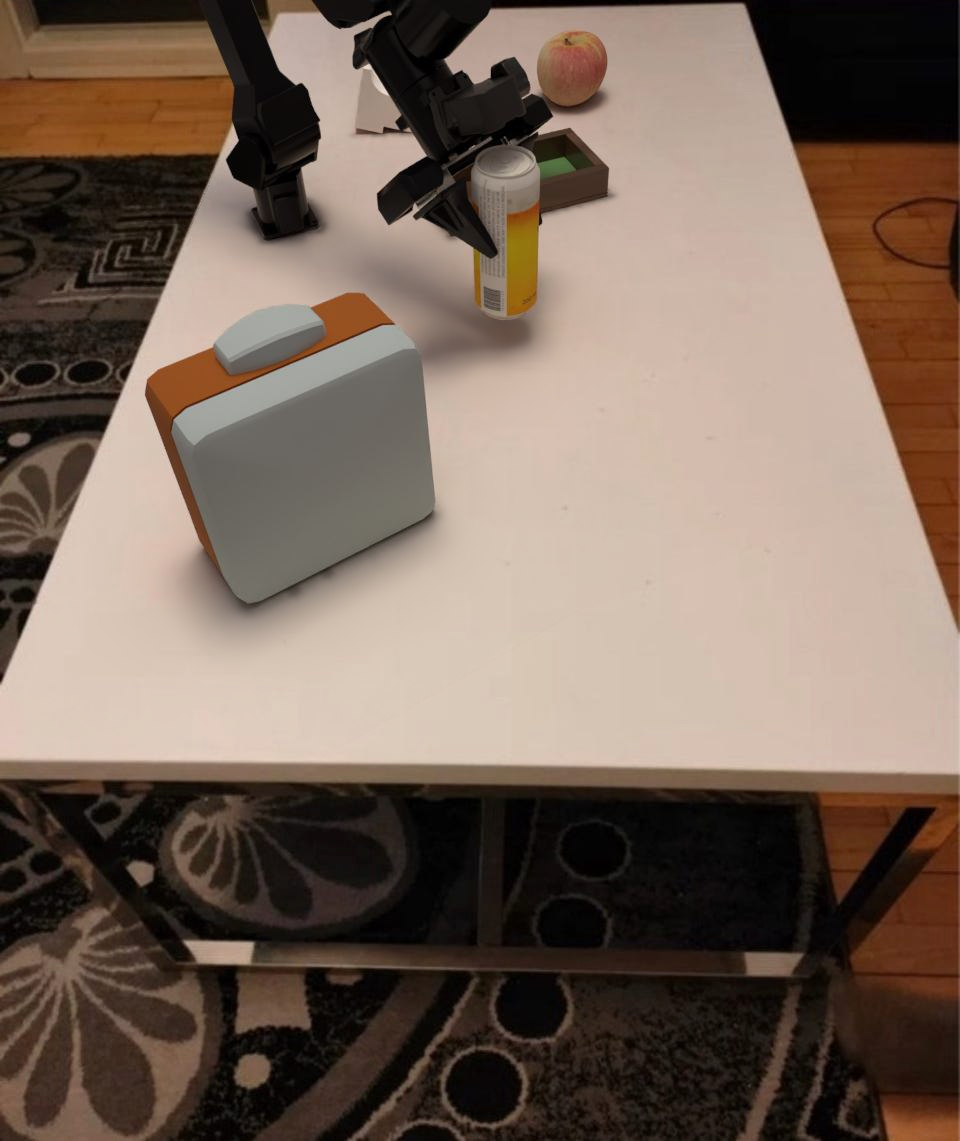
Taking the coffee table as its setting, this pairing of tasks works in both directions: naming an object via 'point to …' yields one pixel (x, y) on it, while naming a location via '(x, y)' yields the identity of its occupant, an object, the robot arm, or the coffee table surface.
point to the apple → (571, 67)
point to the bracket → (375, 104)
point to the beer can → (507, 230)
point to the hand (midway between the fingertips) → (516, 241)
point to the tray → (562, 171)
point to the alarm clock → (297, 439)
